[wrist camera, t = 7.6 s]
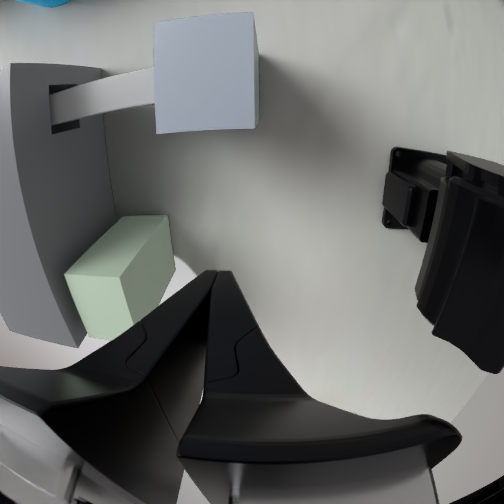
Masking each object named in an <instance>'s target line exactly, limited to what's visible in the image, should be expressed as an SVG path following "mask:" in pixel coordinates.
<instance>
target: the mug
mask: <svg viewBox="0 0 504 504" xmlns="http://www.w3.org/2000/svg"><path fill="white" fill-rule="evenodd" d="M16 1H21V2H26V3H31V4H35V5H39V6H44V7H56V6H59V5H62V4H64V3H66V2H68V1H69V0H16Z"/></svg>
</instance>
